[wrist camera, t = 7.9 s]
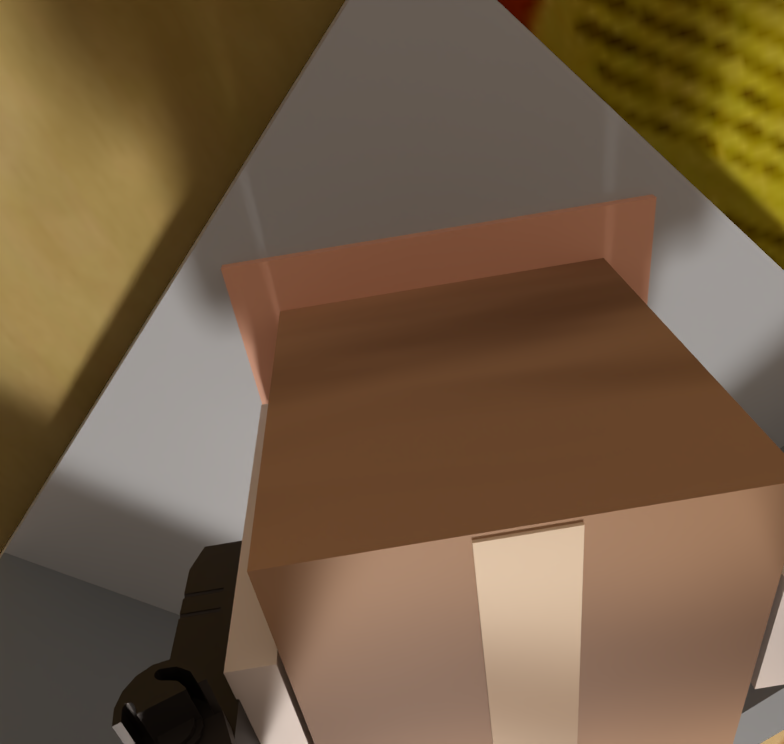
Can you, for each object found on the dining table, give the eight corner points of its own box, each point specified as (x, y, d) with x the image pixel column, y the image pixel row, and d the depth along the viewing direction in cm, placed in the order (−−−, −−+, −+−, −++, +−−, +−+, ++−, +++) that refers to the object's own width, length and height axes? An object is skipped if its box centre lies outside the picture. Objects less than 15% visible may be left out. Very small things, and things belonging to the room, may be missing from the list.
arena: (-3, 558, 19) (-124, 781, 14) (397, -84, 11) (457, -117, 6) (448, 717, 25) (479, 907, 20) (887, 374, 18) (1109, 539, 13)
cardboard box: (280, 311, 14) (246, 575, 8) (603, 258, 14) (811, 482, 8) (339, 537, 18) (347, 829, 12) (593, 495, 18) (728, 766, 12)
